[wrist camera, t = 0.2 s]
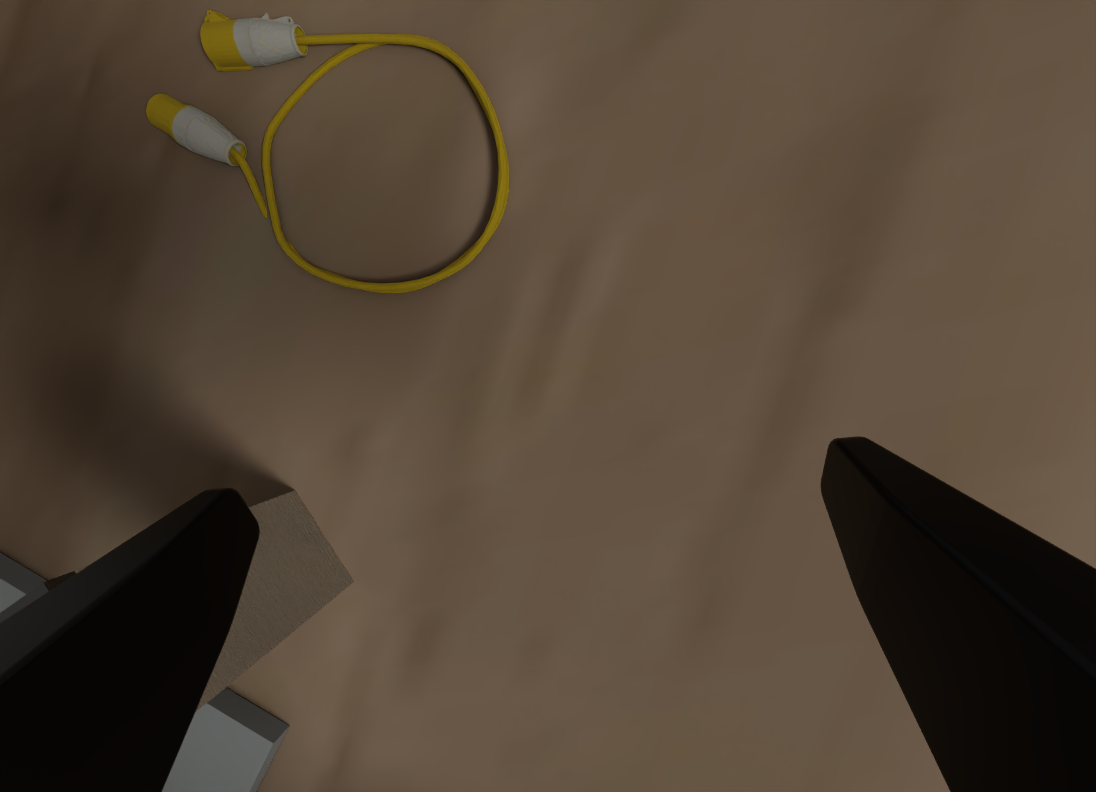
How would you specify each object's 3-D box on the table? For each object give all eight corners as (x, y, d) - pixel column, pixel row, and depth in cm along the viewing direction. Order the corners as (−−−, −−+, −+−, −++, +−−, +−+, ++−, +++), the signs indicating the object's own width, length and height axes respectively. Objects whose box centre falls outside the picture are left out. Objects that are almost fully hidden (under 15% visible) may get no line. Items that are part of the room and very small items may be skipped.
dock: (289, 725, 25) (216, 807, 20) (168, 966, 26) (72, 1097, 21) (-21, 539, 26) (-157, 575, 21) (-123, 776, 27) (-275, 859, 22)
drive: (353, 581, 24) (148, 750, 13) (285, 626, 25) (31, 826, 14) (295, 490, 24) (43, 582, 13) (228, 535, 25) (-69, 661, 14)
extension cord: (338, -78, 24) (315, -119, 22) (567, 183, 23) (564, 165, 21) (154, 113, 25) (115, 90, 23) (366, 366, 24) (345, 365, 22)
